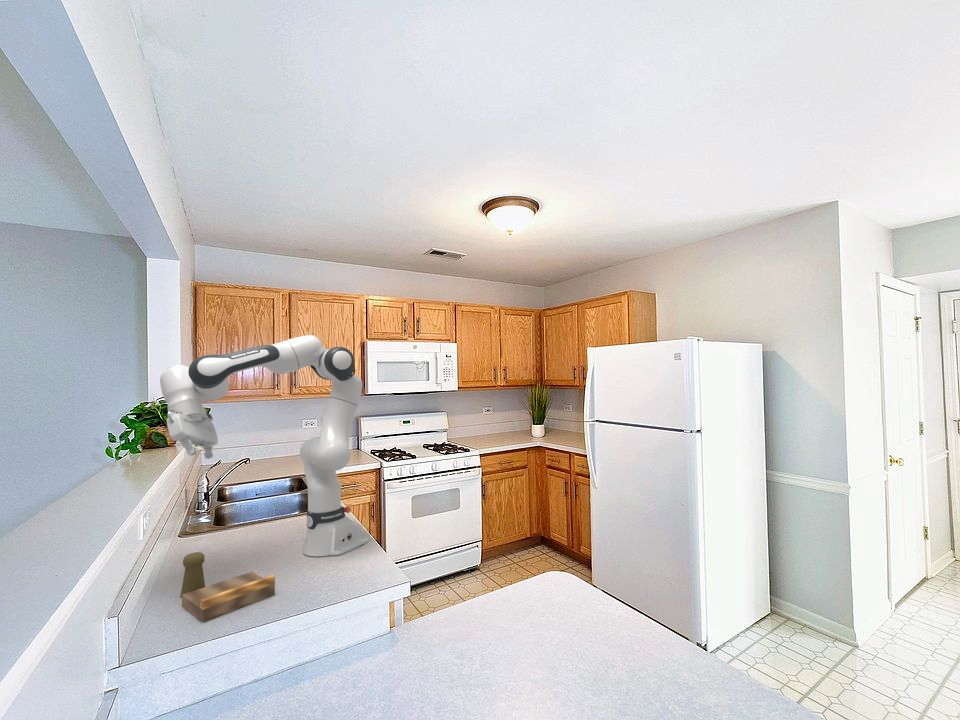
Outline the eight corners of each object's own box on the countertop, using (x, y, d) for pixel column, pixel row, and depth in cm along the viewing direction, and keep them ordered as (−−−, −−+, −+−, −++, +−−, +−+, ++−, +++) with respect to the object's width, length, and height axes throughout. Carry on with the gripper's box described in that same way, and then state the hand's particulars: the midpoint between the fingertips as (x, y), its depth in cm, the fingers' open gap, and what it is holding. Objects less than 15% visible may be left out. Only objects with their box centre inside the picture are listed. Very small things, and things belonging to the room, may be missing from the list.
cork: (193, 599, 122) (194, 558, 123) (175, 598, 123) (175, 557, 124) (211, 589, 128) (211, 550, 129) (193, 588, 129) (193, 549, 130)
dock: (251, 582, 132) (251, 564, 133) (274, 594, 124) (274, 576, 124) (181, 606, 118) (182, 586, 119) (202, 622, 109) (202, 601, 110)
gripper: (178, 403, 127) (192, 447, 124) (214, 416, 146) (228, 455, 143) (155, 413, 126) (169, 457, 122) (195, 425, 145) (208, 464, 142)
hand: (201, 456), depth 133 cm, fingers open, 8 cm apart
